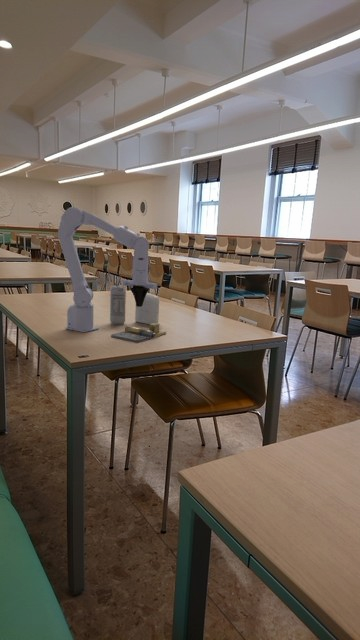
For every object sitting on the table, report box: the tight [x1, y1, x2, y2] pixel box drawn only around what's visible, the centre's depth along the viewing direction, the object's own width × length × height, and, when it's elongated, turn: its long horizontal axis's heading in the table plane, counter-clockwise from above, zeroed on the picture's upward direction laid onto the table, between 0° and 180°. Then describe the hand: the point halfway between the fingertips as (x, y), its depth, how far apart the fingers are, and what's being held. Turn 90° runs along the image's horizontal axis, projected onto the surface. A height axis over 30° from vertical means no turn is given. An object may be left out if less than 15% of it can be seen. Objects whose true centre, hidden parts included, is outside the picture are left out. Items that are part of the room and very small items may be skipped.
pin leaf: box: [110, 330, 156, 344], centre depth 146 cm, size 13×10×2 cm
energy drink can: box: [109, 285, 127, 326], centre depth 167 cm, size 6×6×15 cm
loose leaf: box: [124, 323, 167, 338], centre depth 153 cm, size 12×10×4 cm
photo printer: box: [134, 293, 160, 325], centre depth 170 cm, size 10×4×12 cm, turn 60°
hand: (139, 306), depth 156 cm, fingers closed
